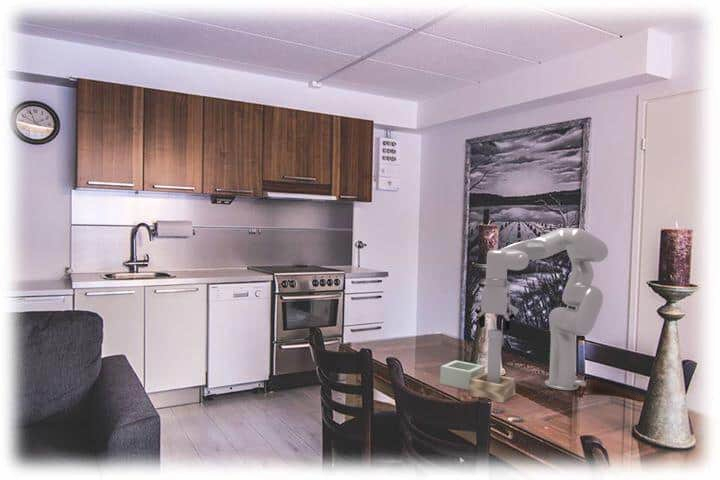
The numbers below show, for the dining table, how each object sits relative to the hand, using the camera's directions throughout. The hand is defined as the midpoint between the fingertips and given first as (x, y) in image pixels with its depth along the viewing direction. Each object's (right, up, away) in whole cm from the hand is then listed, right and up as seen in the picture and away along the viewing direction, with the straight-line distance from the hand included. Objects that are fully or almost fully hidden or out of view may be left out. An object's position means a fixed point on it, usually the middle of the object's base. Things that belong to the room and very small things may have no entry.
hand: (494, 329), depth 198 cm
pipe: (-1, -25, +1) cm, 25 cm away
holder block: (-9, -24, +14) cm, 30 cm away
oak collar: (-1, -25, +1) cm, 25 cm away
